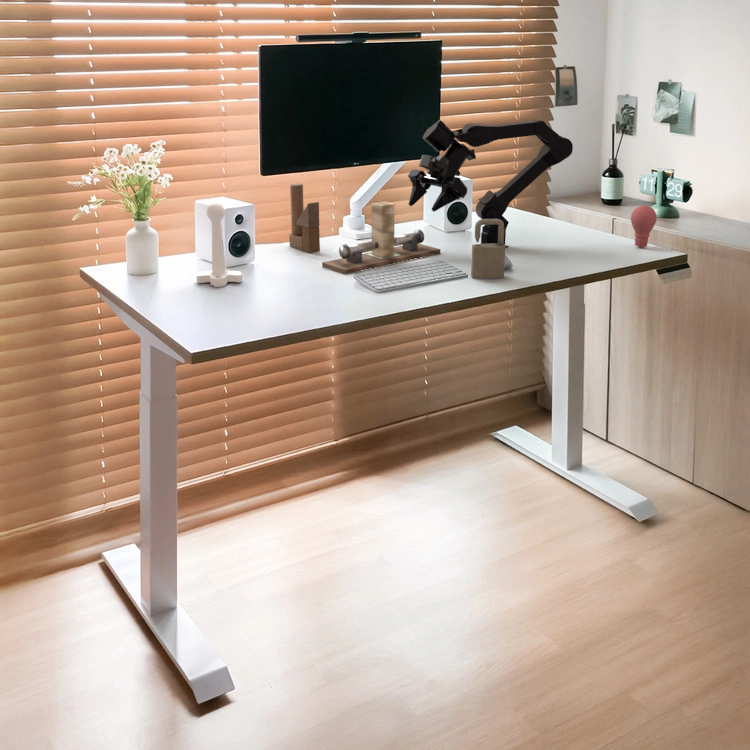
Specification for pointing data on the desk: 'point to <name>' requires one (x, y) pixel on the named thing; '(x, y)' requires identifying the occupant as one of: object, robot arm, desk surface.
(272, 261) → the desk surface
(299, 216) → the wooden block
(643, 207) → the light bulb
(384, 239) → the tan wood post
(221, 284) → the joystick
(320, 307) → the desk surface
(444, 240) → the desk surface
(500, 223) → the padlock
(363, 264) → the base board
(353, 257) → the shafts
